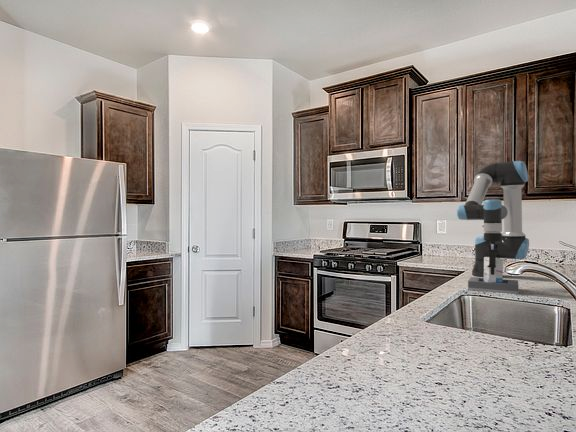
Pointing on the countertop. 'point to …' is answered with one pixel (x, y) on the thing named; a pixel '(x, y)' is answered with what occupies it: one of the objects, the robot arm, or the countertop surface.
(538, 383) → the countertop surface
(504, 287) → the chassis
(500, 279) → the ink box
